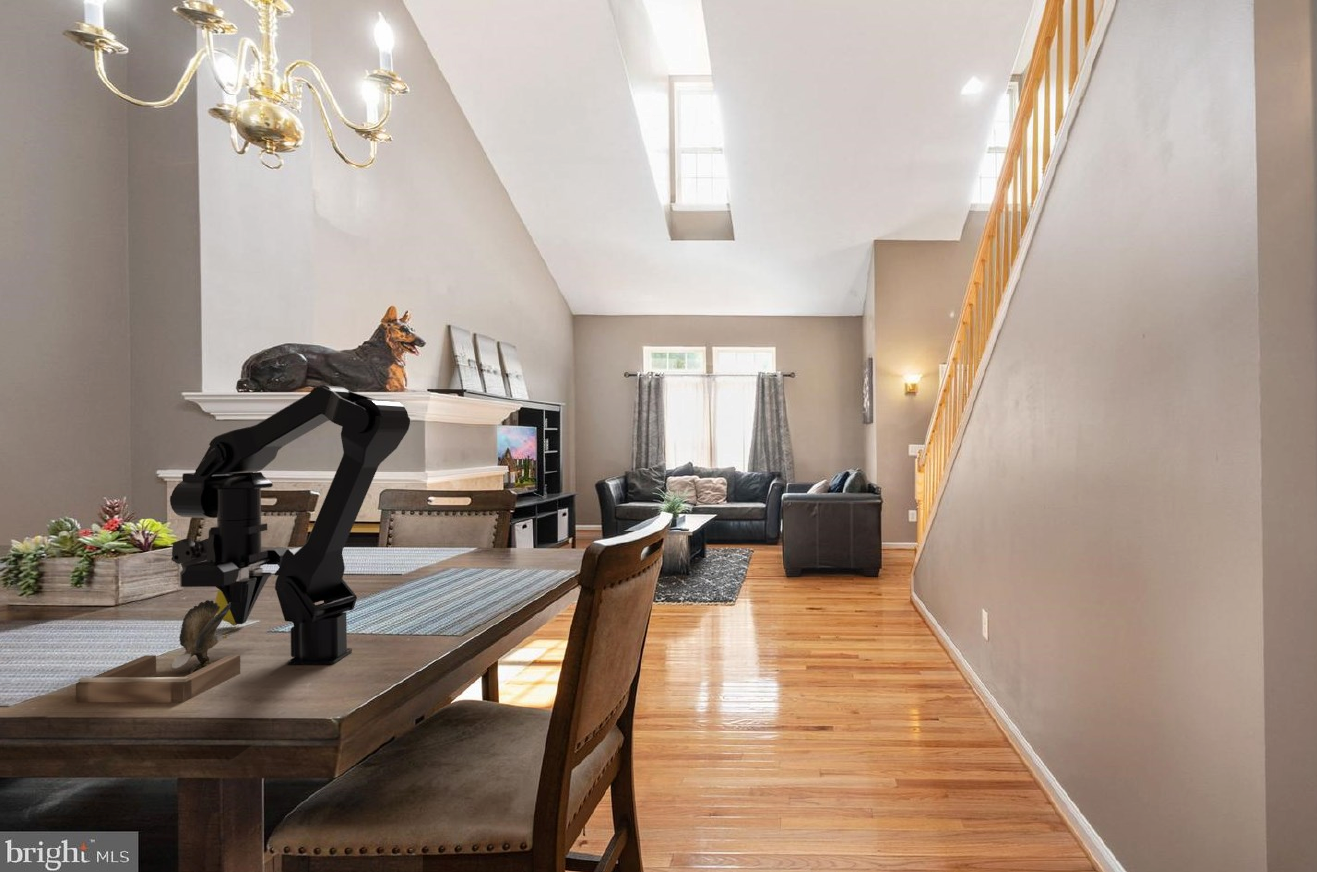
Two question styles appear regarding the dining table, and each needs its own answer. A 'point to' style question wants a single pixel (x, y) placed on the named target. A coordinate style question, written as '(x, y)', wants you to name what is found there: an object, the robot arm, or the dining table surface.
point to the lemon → (222, 603)
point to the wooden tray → (153, 682)
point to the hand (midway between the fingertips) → (240, 623)
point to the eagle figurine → (200, 633)
